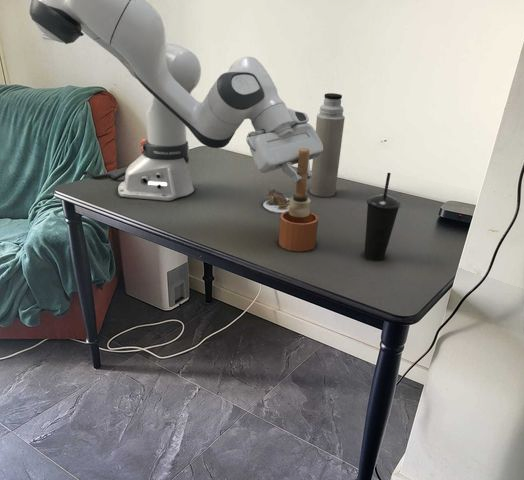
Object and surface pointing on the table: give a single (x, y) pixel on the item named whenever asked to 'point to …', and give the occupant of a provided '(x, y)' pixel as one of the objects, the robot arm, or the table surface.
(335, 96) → the thermos bottle
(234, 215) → the table surface
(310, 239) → the tumbler
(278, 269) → the table surface
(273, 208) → the frog figurine
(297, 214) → the brush
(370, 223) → the drinking cup
